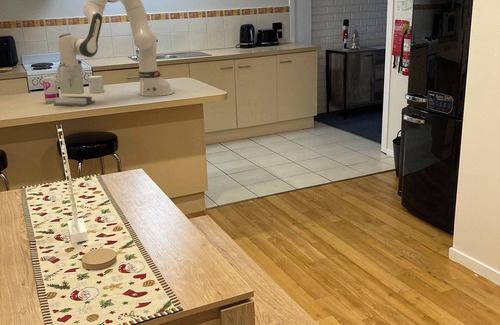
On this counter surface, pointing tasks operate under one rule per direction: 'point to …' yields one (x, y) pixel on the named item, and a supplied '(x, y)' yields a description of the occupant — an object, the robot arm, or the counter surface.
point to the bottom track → (74, 101)
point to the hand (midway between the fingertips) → (71, 86)
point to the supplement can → (50, 89)
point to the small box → (96, 84)
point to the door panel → (72, 86)
